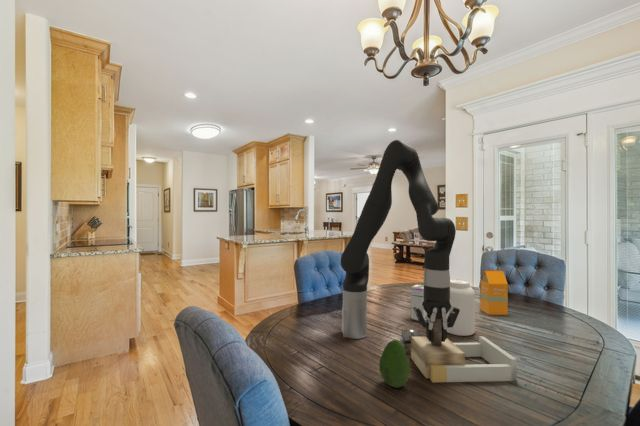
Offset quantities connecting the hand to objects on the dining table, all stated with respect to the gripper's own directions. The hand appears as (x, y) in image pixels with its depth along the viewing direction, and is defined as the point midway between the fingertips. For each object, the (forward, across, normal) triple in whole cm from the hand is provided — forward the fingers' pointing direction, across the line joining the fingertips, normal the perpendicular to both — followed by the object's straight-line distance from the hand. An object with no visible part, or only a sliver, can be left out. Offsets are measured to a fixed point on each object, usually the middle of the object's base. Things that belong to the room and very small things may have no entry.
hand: (436, 340), depth 92 cm
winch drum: (+8, +4, -12) cm, 15 cm away
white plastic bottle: (+8, -22, -29) cm, 37 cm away
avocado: (+8, +16, +9) cm, 20 cm away
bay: (+8, -7, 0) cm, 11 cm away
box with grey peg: (+8, 0, 0) cm, 8 cm away
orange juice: (+8, -51, -51) cm, 72 cm away
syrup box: (+8, -12, -43) cm, 45 cm away
